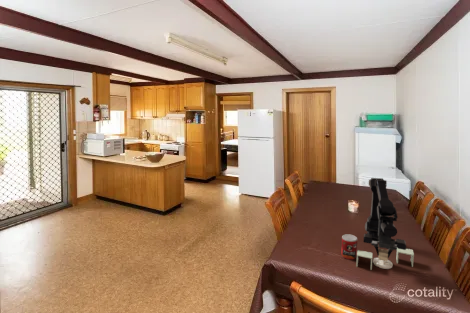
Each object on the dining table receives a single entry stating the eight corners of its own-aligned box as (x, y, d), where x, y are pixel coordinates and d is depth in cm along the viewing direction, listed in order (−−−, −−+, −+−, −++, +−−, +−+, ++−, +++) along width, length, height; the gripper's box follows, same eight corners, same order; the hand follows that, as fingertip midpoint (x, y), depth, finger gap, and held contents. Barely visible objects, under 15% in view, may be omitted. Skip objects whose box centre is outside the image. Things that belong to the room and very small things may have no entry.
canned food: (341, 258, 143) (342, 239, 142) (341, 251, 151) (341, 233, 149) (356, 261, 140) (357, 241, 139) (356, 253, 148) (356, 235, 146)
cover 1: (356, 261, 140) (357, 249, 139) (371, 264, 137) (372, 252, 136) (356, 266, 135) (356, 254, 134) (371, 270, 132) (372, 258, 131)
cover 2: (396, 258, 142) (397, 246, 141) (411, 261, 139) (412, 249, 138) (396, 263, 137) (397, 251, 136) (412, 266, 134) (413, 254, 133)
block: (378, 255, 139) (378, 248, 139) (387, 257, 137) (387, 250, 137) (378, 259, 136) (379, 252, 135) (387, 261, 134) (388, 254, 133)
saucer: (368, 260, 141) (369, 258, 140) (383, 258, 142) (383, 256, 142) (381, 270, 132) (381, 268, 132) (396, 267, 134) (397, 265, 133)
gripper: (363, 231, 131) (362, 260, 134) (408, 238, 123) (405, 269, 125) (364, 222, 141) (363, 250, 144) (406, 229, 132) (403, 257, 135)
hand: (383, 256), depth 136 cm, fingers closed on block, 4 cm apart
